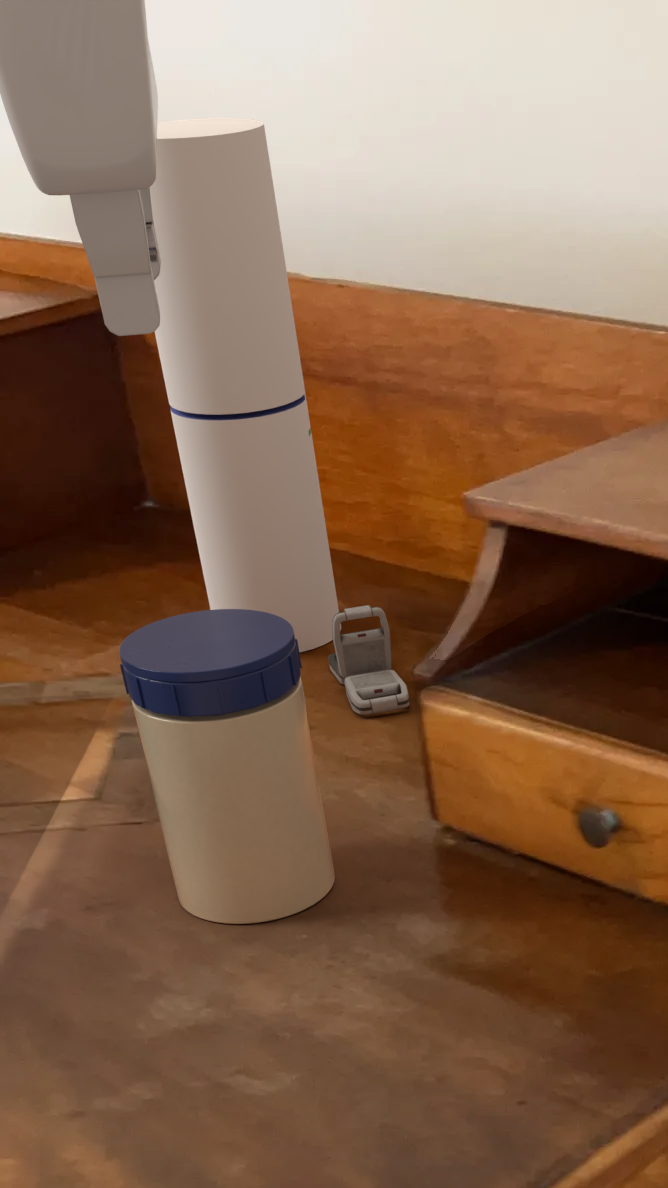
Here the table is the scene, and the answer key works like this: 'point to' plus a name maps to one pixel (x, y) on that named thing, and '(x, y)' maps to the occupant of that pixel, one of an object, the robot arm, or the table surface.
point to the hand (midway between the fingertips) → (137, 303)
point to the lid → (210, 662)
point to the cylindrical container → (238, 376)
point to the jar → (240, 809)
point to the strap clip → (367, 664)
